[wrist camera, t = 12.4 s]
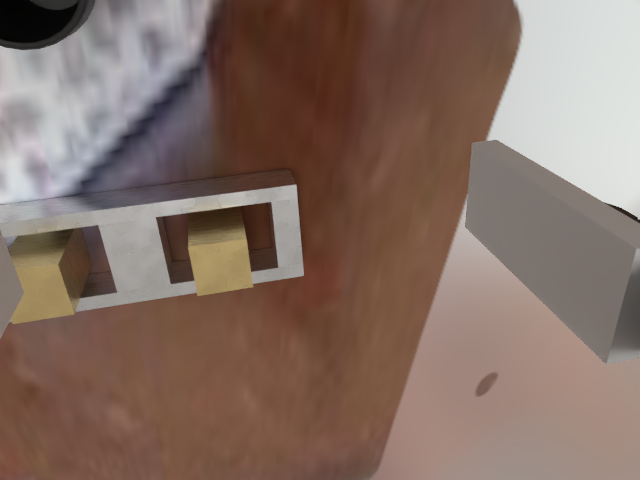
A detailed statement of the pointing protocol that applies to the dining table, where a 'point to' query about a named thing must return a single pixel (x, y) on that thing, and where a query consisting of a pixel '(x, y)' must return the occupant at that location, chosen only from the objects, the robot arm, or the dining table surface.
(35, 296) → the tan wooden brick
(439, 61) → the dining table surface
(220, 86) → the dining table surface
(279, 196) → the rail
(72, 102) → the dining table surface
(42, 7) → the mug
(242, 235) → the yellow rectangular block
